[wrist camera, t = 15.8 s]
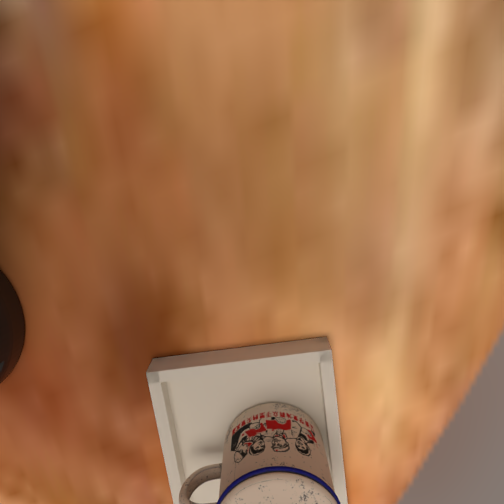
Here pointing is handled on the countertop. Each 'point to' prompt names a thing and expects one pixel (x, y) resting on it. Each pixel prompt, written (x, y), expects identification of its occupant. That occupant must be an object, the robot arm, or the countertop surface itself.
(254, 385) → the tray
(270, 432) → the teacup with lid
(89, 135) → the countertop surface
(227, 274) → the countertop surface
